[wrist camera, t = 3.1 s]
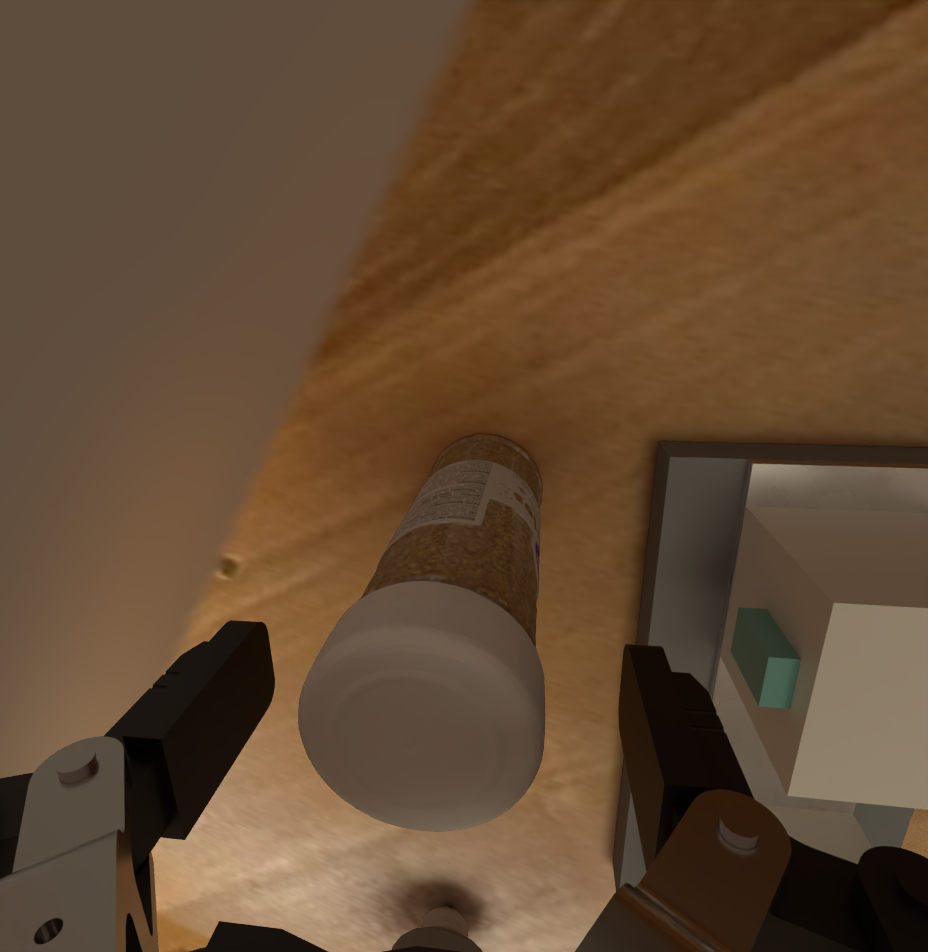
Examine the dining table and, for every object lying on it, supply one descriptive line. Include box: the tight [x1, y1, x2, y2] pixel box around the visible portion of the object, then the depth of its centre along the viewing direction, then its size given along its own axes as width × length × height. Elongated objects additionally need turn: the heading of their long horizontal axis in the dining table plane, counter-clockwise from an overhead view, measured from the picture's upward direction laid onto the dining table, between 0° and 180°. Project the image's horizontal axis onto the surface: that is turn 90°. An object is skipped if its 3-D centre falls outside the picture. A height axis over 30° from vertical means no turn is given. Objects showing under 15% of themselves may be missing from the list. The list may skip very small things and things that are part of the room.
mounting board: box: [613, 441, 928, 891], centre depth 23 cm, size 22×11×2 cm, turn 1°
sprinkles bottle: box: [298, 434, 545, 832], centre depth 16 cm, size 5×5×14 cm
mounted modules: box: [720, 506, 928, 864], centre depth 19 cm, size 19×7×6 cm, turn 1°
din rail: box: [709, 459, 928, 814], centre depth 22 cm, size 22×6×1 cm, turn 1°
